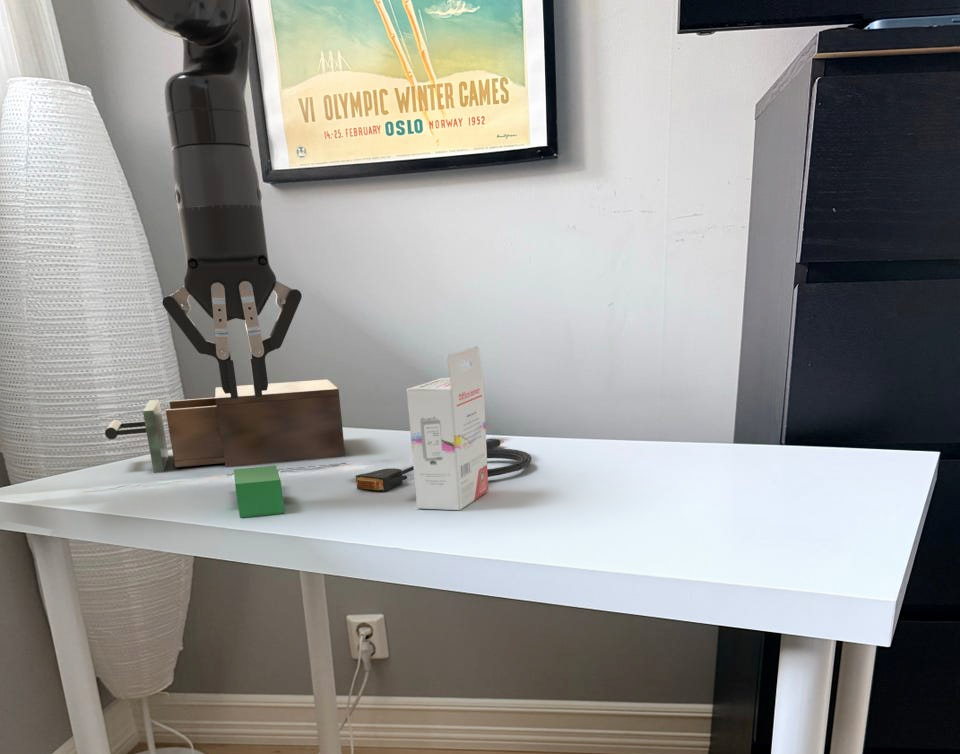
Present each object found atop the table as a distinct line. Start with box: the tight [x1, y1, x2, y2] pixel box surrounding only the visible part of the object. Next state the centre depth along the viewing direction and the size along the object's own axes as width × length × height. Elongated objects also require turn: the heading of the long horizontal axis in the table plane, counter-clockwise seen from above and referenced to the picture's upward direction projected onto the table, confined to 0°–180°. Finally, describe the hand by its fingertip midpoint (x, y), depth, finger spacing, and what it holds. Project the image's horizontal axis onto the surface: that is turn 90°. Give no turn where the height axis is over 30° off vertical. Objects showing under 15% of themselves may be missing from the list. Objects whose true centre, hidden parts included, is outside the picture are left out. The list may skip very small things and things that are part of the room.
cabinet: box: [214, 379, 347, 475], centre depth 118 cm, size 15×13×9 cm
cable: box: [355, 438, 532, 493], centre depth 108 cm, size 14×28×2 cm, turn 146°
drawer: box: [104, 396, 225, 474], centre depth 116 cm, size 18×11×7 cm, turn 105°
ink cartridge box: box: [405, 345, 489, 511], centre depth 92 cm, size 9×5×15 cm, turn 160°
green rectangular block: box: [233, 465, 285, 519], centre depth 95 cm, size 4×8×3 cm, turn 15°
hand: (246, 396), depth 92 cm, fingers closed
